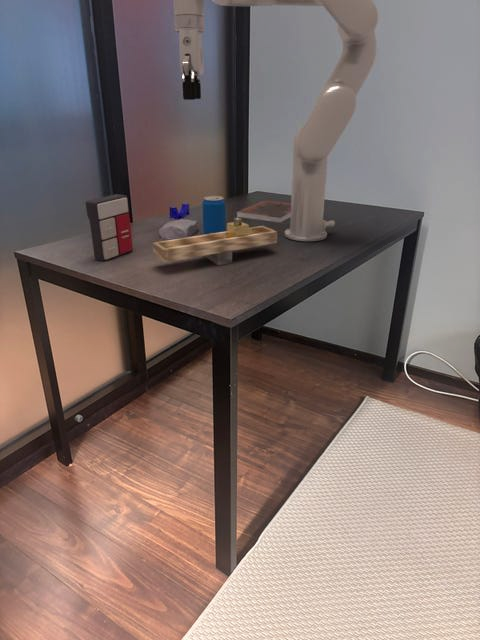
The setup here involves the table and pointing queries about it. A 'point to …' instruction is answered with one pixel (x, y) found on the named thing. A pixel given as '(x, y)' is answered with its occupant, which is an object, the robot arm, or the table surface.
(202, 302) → the table surface
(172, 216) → the cable holder
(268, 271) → the table surface
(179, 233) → the stone block
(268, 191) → the table surface
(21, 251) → the table surface
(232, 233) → the rider
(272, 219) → the picture frame
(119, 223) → the drawer cabinet
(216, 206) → the beverage can
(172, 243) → the beam
